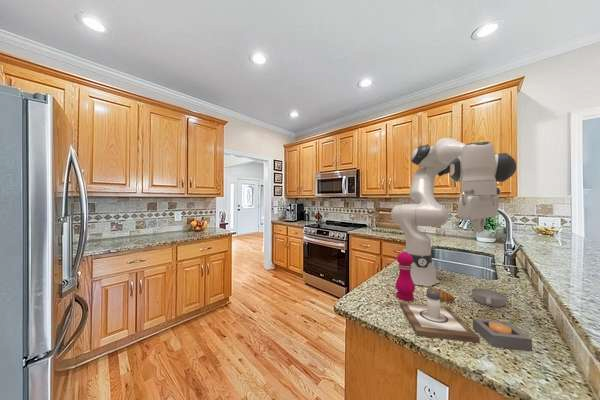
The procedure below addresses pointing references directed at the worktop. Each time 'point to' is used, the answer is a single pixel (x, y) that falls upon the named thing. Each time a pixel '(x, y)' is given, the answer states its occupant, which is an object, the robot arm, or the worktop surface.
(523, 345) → the button base
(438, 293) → the marker
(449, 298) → the pastry
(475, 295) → the small pan
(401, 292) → the pepper mill
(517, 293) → the worktop surface
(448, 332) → the board
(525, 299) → the worktop surface
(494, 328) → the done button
